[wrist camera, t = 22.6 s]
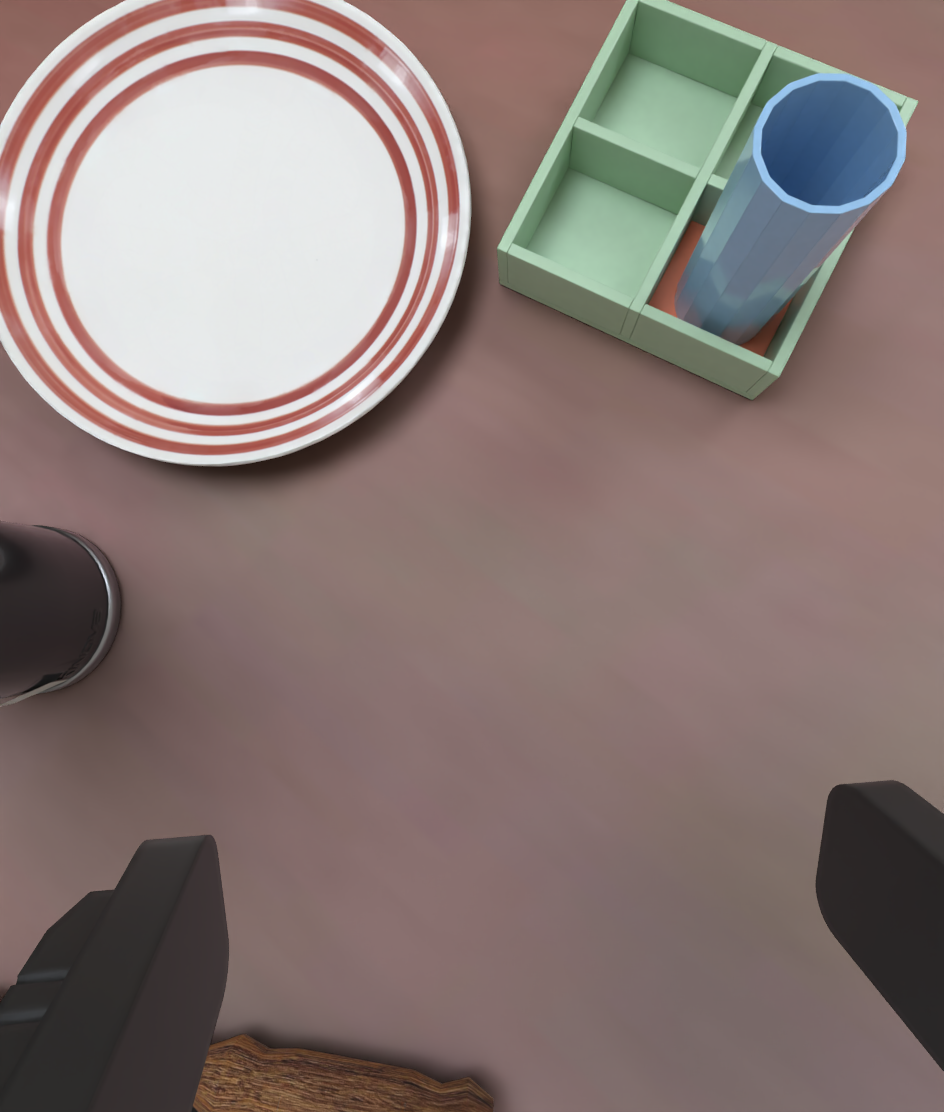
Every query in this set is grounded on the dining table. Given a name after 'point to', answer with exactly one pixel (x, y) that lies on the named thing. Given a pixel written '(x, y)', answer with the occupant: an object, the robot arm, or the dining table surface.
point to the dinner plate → (227, 225)
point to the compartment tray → (657, 188)
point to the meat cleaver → (322, 1083)
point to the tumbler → (791, 201)
